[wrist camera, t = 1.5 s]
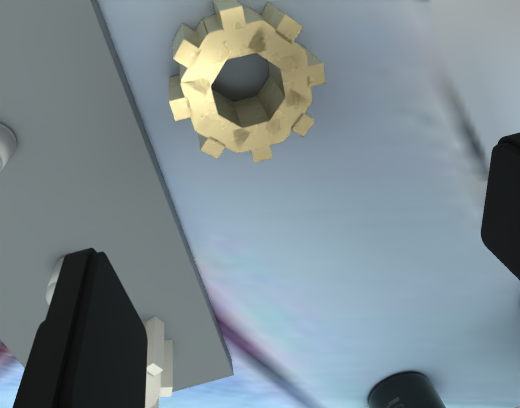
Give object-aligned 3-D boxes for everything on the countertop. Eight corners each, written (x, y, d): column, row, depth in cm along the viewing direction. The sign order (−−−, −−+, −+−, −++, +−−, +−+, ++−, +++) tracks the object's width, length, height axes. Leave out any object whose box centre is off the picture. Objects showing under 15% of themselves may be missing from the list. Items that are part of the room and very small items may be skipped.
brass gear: (293, -21, 22) (315, -13, 18) (311, 115, 26) (331, 142, 23) (149, 14, 21) (145, 29, 18) (191, 146, 26) (194, 177, 22)
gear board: (87, -26, 20) (58, -11, 15) (231, 359, 37) (240, 428, 32) (-213, 45, 20) (-348, 85, 14) (72, 403, 36) (55, 480, 31)
